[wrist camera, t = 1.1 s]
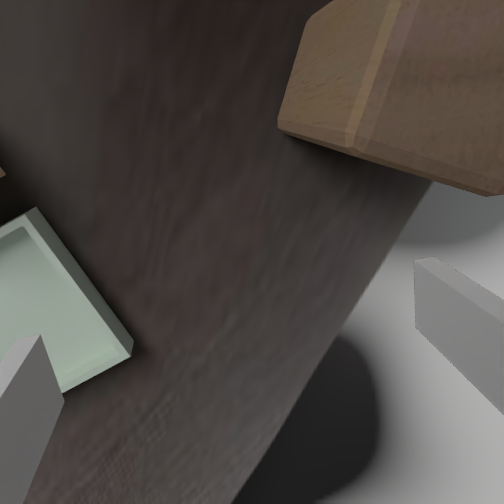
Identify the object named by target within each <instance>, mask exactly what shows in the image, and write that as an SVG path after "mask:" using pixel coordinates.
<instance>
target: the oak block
mask: <svg viewBox="0 0 504 504" xmlns="http://www.w3.org/2000/svg"><path fill="white" fill-rule="evenodd" d="M5 175H6V174H5V173H4V171H3V170H2V168H1V167H0V178H1V177H3V176H5Z"/></svg>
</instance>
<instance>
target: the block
mask: <svg viewBox="0 0 504 504" xmlns="http://www.w3.org/2000/svg"><path fill="white" fill-rule="evenodd" d="M277 121H278V128H279V129H280V130H281V131H282V132H283V133H284V134H287V135H290V136H293V137H296V138H300V139H303V140H306V141H309V142H312V143H315V144H318V145H321V146H324V147H327V148H330V149H333V150H336V151H339V152H342V153H345V154H349V155H352V156H355V157H358V158H361V159H364V160H368V161H371V162H374V163H377V164H381V165H384V166H387V167H391V168H394V169H397V170H400V171H404V172H407V173H410V174H413V175H417V176H420V177H423V178H426V179H430V180H433V181H436V182H440V183H443V184H446V185H450V186H453V187H456V188H459V189H462V190H466V191H469V192H472V193H476V194H479V195H482V196H485V197H487V196H494V195H502V194H504V0H333V1H332V2H330V3H329V4H328V5H326V6H325V7H323V8H322V9H320V10H319V11H318V12H316V13H315V14H313V15H312V16H311V17H310V19H309V20H308V21H307V23H306V25H305V28H304V31H303V35H302V38H301V41H300V45H299V48H298V52H297V55H296V58H295V62H294V65H293V68H292V72H291V75H290V78H289V82H288V85H287V88H286V92H285V95H284V99H283V102H282V105H281V109H280V112H279V115H278V119H277Z"/></svg>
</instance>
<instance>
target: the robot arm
mask: <svg viewBox="0 0 504 504" xmlns="http://www.w3.org/2000/svg"><path fill="white" fill-rule="evenodd" d="M414 289H415V323H416V328H417V329H418V330H419V331H420V332H421V333H422V334H423V335H424V336H425V337H426V338H427V339H428V340H429V341H430V342H431V343H432V344H433V345H434V346H435V347H436V348H437V349H438V350H439V351H440V352H441V353H442V354H443V355H444V356H445V357H446V358H447V359H448V360H449V361H450V362H451V363H452V364H453V365H454V366H455V367H456V368H457V369H458V370H459V371H460V372H461V373H462V374H463V375H464V376H465V377H466V378H467V379H468V380H469V381H470V382H471V383H472V384H473V385H474V386H475V387H476V388H477V389H478V390H479V391H480V392H481V393H482V394H483V395H484V396H485V397H486V398H487V399H488V400H489V401H490V402H491V403H492V404H493V405H494V406H495V407H496V408H497V409H498V410H499V411H500V412H501V413H502V414H503V415H504V300H503V299H501V298H499V297H498V296H496V295H495V294H493V293H491V292H490V291H488V290H487V289H485V288H483V287H482V286H480V285H479V284H477V283H475V282H474V281H472V280H471V279H469V278H468V277H466V276H465V275H463V274H461V273H460V272H458V271H457V270H455V269H453V268H452V267H450V266H449V265H447V264H445V263H444V262H442V261H441V260H439V259H438V258H436V257H434V256H433V257H428V258H422V259H418V260H414ZM64 402H65V401H64V398H63V395H62V393H61V390H60V387H59V384H58V382H57V379H56V376H55V373H54V370H53V368H52V365H51V362H50V359H49V356H48V354H47V351H46V348H45V345H44V343H43V340H42V337H41V334H39V335H34V336H29V337H24V338H19V339H17V340H16V341H15V343H14V344H13V345H12V347H11V348H10V349H9V351H8V352H7V354H6V355H5V356H4V358H3V359H2V361H1V362H0V504H23V502H24V499H25V497H26V494H27V492H28V489H29V487H30V485H31V482H32V480H33V477H34V475H35V472H36V470H37V468H38V465H39V463H40V460H41V458H42V455H43V453H44V450H45V448H46V446H47V443H48V441H49V438H50V436H51V433H52V431H53V429H54V426H55V424H56V421H57V419H58V416H59V414H60V412H61V409H62V407H63V404H64Z"/></svg>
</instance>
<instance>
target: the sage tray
mask: <svg viewBox="0 0 504 504" xmlns="http://www.w3.org/2000/svg"><path fill="white" fill-rule="evenodd" d="M39 334H41V337H42V340H43V343H44V345H45V348H46V351H47V354H48V356H49V359H50V362H51V365H52V368H53V370H54V373H55V376H56V379H57V382H58V384H59V387H60V390H61V393H64V392H66V391H67V390H69V389H71V388H73V387H75V386H77V385H79V384H80V383H82V382H84V381H86V380H88V379H90V378H92V377H93V376H95V375H97V374H99V373H101V372H103V371H105V370H107V369H108V368H110V367H112V366H114V365H116V364H118V363H120V362H121V361H123V360H125V359H127V358H129V357H131V352H132V348H133V343H134V340H133V339H132V337H131V336H130V334H129V333H128V332H127V330H126V329H125V328H124V326H123V325H122V323H121V322H120V321H119V319H118V318H117V317H116V315H115V314H114V313H113V311H112V310H111V308H110V307H109V306H108V304H107V303H106V302H105V300H104V299H103V297H102V296H101V295H100V293H99V292H98V291H97V289H96V288H95V286H94V285H93V284H92V282H91V281H90V280H89V278H88V277H87V275H86V274H85V273H84V271H83V270H82V269H81V267H80V266H79V265H78V263H77V262H76V260H75V259H74V258H73V256H72V255H71V254H70V252H69V251H68V249H67V248H66V247H65V245H64V244H63V243H62V241H61V240H60V238H59V237H58V236H57V234H56V233H55V232H54V230H53V229H52V227H51V226H50V225H49V223H48V222H47V221H46V219H45V218H44V216H43V215H42V214H41V212H40V211H39V210H38V208H37V207H34V208H32V209H31V210H29V211H27V212H25V213H23V214H22V215H20V216H18V217H16V218H14V219H13V220H11V221H9V222H7V223H5V224H4V225H2V226H0V362H1V361H2V359H3V358H4V356H5V355H6V354H7V352H8V351H9V349H10V348H11V347H12V345H13V344H14V343H15V341H16V340H17V339H19V338H24V337H29V336H34V335H39Z"/></svg>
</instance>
